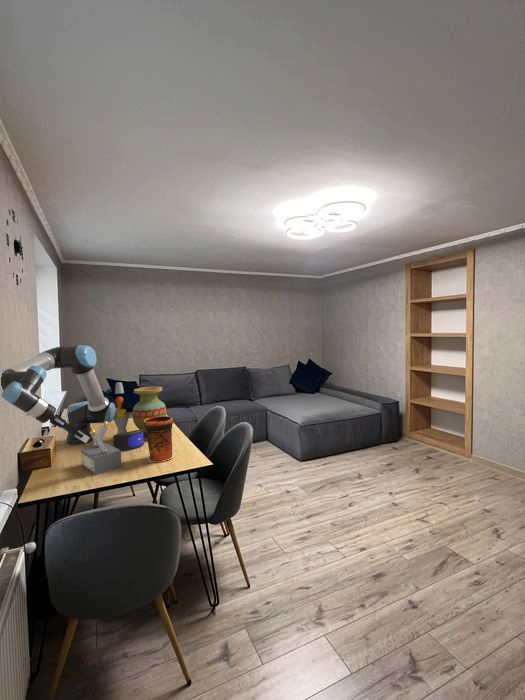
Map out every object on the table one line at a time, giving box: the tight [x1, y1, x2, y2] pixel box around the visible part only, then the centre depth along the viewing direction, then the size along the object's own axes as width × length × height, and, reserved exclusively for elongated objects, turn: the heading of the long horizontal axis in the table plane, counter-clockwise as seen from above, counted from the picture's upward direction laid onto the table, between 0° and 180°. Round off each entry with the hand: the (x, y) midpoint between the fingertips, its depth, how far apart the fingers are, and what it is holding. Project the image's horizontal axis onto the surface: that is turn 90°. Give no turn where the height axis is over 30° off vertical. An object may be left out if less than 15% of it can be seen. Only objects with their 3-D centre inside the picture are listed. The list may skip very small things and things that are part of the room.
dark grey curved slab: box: [112, 429, 145, 452], centre depth 189 cm, size 16×5×9 cm, turn 127°
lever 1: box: [93, 421, 109, 447], centre depth 171 cm, size 3×2×13 cm
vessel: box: [144, 416, 175, 463], centre depth 173 cm, size 14×14×20 cm
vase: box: [131, 386, 167, 442], centre depth 208 cm, size 20×20×30 cm
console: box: [80, 443, 123, 476], centre depth 165 cm, size 17×13×8 cm
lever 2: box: [90, 429, 107, 453], centre depth 158 cm, size 3×2×13 cm
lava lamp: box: [113, 382, 130, 434], centre depth 203 cm, size 9×9×35 cm
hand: (87, 440), depth 155 cm, fingers closed
